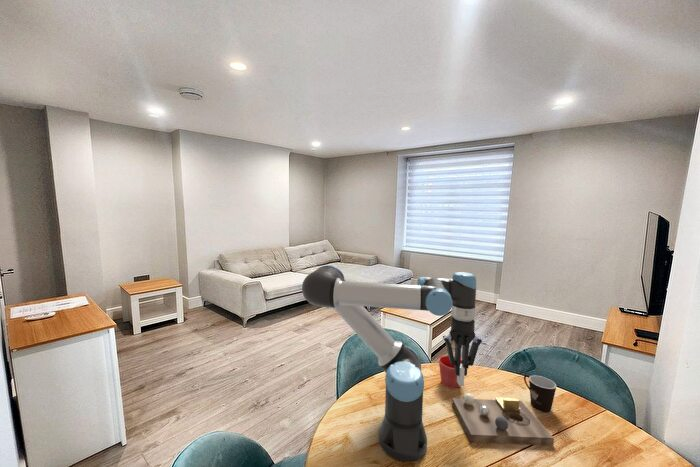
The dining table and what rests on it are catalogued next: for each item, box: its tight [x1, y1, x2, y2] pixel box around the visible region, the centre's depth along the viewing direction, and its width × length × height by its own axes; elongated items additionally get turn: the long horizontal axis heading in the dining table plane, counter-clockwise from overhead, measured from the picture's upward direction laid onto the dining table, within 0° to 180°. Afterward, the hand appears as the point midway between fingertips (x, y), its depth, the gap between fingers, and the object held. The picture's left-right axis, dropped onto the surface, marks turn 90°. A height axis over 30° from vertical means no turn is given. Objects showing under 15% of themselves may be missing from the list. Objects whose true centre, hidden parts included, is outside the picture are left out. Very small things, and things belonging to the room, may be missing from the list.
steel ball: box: [479, 405, 490, 417], centre depth 99 cm, size 3×3×3 cm
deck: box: [451, 397, 555, 446], centre depth 99 cm, size 26×18×2 cm
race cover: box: [494, 397, 520, 411], centre depth 104 cm, size 6×6×4 cm
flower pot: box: [438, 355, 462, 389], centre depth 122 cm, size 11×11×10 cm
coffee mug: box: [523, 374, 557, 414], centre depth 109 cm, size 12×9×10 cm
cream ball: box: [463, 392, 475, 405], centre depth 105 cm, size 4×4×4 cm
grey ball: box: [495, 417, 508, 430], centre depth 93 cm, size 4×4×4 cm
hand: (460, 383), depth 99 cm, fingers closed
